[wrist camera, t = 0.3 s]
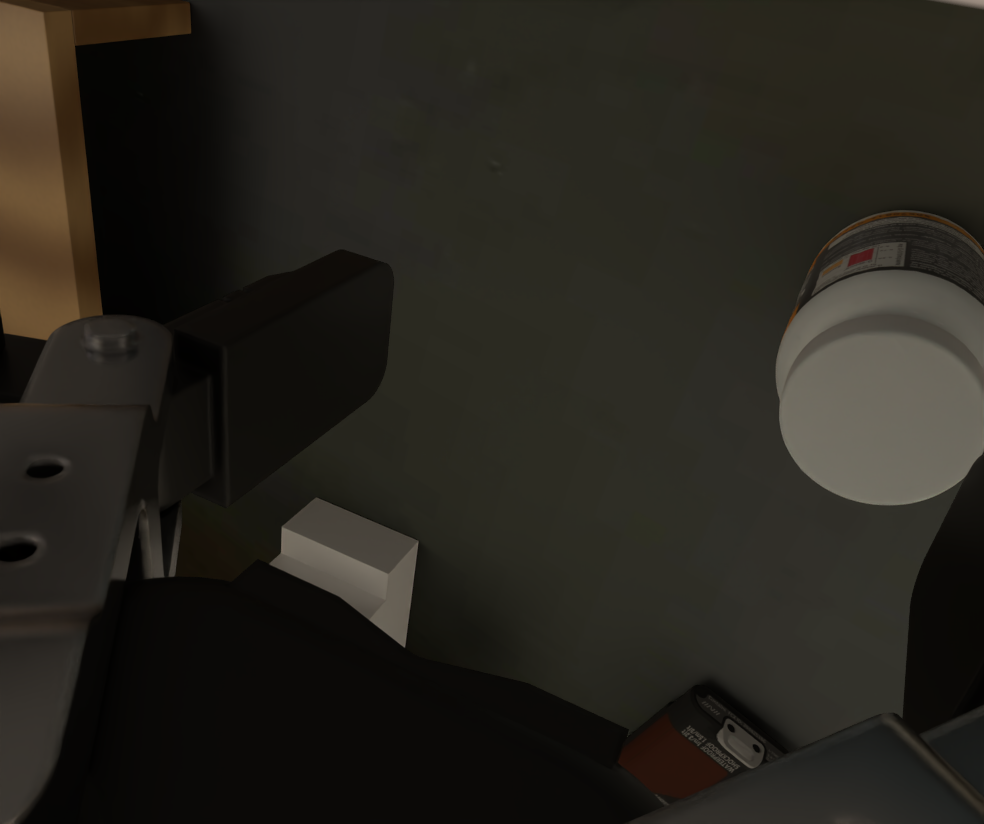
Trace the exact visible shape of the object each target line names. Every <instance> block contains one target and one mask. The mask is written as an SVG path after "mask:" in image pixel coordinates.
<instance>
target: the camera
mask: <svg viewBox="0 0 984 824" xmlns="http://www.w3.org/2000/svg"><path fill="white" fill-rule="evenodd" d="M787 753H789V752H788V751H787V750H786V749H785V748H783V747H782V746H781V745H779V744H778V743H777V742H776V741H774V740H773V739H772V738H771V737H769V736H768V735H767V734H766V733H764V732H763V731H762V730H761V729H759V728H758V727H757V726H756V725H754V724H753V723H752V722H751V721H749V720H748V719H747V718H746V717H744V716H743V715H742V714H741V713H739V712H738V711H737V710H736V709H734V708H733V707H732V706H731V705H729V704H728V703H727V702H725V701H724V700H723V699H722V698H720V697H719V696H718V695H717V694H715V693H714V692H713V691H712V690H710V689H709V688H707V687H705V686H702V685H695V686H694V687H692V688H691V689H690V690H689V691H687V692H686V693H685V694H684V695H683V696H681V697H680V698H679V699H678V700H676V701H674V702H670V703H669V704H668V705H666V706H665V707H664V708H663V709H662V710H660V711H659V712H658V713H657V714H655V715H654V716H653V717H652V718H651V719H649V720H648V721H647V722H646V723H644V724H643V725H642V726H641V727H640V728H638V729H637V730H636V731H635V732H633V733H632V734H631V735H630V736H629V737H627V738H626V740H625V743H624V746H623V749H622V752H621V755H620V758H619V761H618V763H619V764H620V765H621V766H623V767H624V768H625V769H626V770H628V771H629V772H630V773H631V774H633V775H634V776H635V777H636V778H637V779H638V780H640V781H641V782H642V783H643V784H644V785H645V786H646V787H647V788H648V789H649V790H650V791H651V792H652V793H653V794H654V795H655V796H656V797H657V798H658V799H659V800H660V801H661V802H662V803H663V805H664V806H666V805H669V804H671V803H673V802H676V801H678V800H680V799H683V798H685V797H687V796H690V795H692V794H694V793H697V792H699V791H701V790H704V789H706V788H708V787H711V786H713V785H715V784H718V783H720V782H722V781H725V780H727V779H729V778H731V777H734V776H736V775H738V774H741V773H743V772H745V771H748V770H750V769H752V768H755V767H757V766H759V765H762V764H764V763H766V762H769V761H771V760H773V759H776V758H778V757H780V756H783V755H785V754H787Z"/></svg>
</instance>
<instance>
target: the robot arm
mask: <svg viewBox="0 0 984 824" xmlns="http://www.w3.org/2000/svg"><path fill="white" fill-rule="evenodd" d="M393 288H394V276H393V272H392V269H391V267H390V266H389V265H388V264H387V263H384V262H381V261H377V260H374V259H371V258H368V257H365V256H362V255H359V254H356V253H352V252H349V251H346V250H337V251H335V252H333V253H331V254H328V255H326V256H324V257H322V258H320V259H318V260H316V261H314V262H312V263H310V264H308V265H305V266H303V267H301V268H299V269H297V270H295V271H291V272H286V273H281V274H275V275H270V276H267V277H265V278H262V279H260V280H258V281H256V282H254V283H252V284H250V285H248V286H245V287H243V291H241V290H237V291H235V292H233V293H230V294H228V295H226V296H224V297H223V300H219V299H218V300H215V301H213V302H211V303H209V304H207V305H205V306H203V307H200V308H198V309H196V310H194V311H192V312H190V313H188V314H185V315H183V316H181V317H179V318H177V319H175V320H173V321H170V322H168V323H166V324H164V325H162V324H160V323H158V322H156V321H153V320H150V319H147V318H143V317H138V316H131V315H98V316H91V317H86V318H81V319H78V320H74V321H71V322H69V323H67V324H64V325H62V326H61V327H59V328H57V329H56V330H55V331H54V332H52V333H51V335H50V336H49V338H48V340H43V339H37V338H31V337H24V336H18V335H12V334H6V333H4V330H3V324H2V318H1V312H0V824H984V456H983V455H981V456H980V457H978V458H977V459H976V461H975V462H974V463H973V465H972V466H971V468H970V470H969V472H968V474H967V475H966V477H965V479H964V481H963V483H962V485H961V487H960V489H959V491H958V493H957V495H956V497H955V499H954V501H953V503H952V505H951V507H950V509H949V511H948V513H947V515H946V517H945V519H944V521H943V523H942V525H941V527H940V529H939V531H938V533H937V535H936V537H935V539H934V541H933V543H932V545H931V546H930V548H929V550H928V552H927V554H926V557H925V559H924V561H923V563H922V565H921V568H920V571H919V573H918V576H917V579H916V582H915V585H914V589H913V593H912V597H911V603H910V615H909V630H908V645H907V660H906V675H905V690H904V705H903V719H902V718H901V717H900V716H899V715H898V714H895V713H883V714H879V715H876V716H873V717H871V718H868V719H866V720H864V721H861V722H859V723H857V724H854V725H852V726H850V727H847V728H845V729H843V730H841V731H838V732H836V733H834V734H831V735H829V736H827V737H824V738H822V739H820V740H817V741H815V742H813V743H810V744H808V745H806V746H803V747H801V748H799V749H796V750H794V751H792V752H789V753H787V754H785V755H783V756H780V757H778V758H776V759H773V760H771V761H769V762H766V763H764V764H762V765H759V766H757V767H755V768H752V769H750V770H748V771H745V772H743V773H741V774H738V775H736V776H734V777H731V778H729V779H727V780H725V781H722V782H720V783H718V784H715V785H713V786H711V787H708V788H706V789H704V790H701V791H699V792H697V793H694V794H692V795H690V796H687V797H685V798H683V799H680V800H678V801H676V802H673V803H671V804H669V805H666V806H664V805H663V803H662V802H661V801H660V800H659V799H658V798H657V797H656V796H655V795H654V794H653V793H652V792H651V791H650V790H649V789H648V788H647V787H646V786H645V785H644V784H643V783H642V782H641V781H640V780H638V779H637V778H636V777H635V776H634V775H633V774H631V773H630V772H629V771H628V770H626V769H625V768H624V767H623V766H621V765H620V764H619V763H618V761H619V758H620V755H621V752H622V749H623V746H624V743H625V740H626V737H627V734H628V730H629V729H626V728H624V727H622V726H620V725H618V724H615V723H613V722H611V721H609V720H607V719H605V718H602V717H600V716H598V715H596V714H594V713H592V712H589V711H587V710H585V709H583V708H581V707H578V706H576V705H574V704H572V703H570V702H568V701H565V700H563V699H561V698H559V697H557V696H555V695H552V694H550V693H548V692H546V691H544V690H542V689H539V688H537V687H535V686H533V685H531V684H528V683H525V682H521V681H517V680H513V679H508V678H504V677H500V676H496V675H491V674H487V673H483V672H479V671H475V670H470V669H466V668H462V667H458V666H453V665H449V664H445V663H441V662H437V661H432V660H428V659H425V658H421V657H419V656H417V655H415V654H413V653H411V652H410V651H408V650H407V649H406V648H404V647H403V646H402V645H400V644H399V643H398V642H397V641H395V640H394V639H393V638H392V637H390V636H389V635H388V634H386V633H385V632H384V631H383V630H381V629H380V628H379V627H378V626H376V625H375V624H374V623H372V622H371V621H370V620H369V619H367V618H366V617H365V616H363V615H362V614H361V613H360V612H358V611H357V610H356V609H355V608H353V607H352V606H351V605H349V604H348V603H347V602H346V601H344V600H343V599H342V598H341V597H339V596H337V595H335V594H333V593H330V592H328V591H326V590H324V589H322V588H320V587H317V586H315V585H313V584H311V583H309V582H307V581H304V580H302V579H300V578H298V577H296V576H294V575H291V574H289V573H287V572H285V571H283V570H280V569H278V568H276V567H274V566H272V565H270V564H267V563H265V562H263V561H261V560H259V559H257V560H256V561H255V562H254V563H253V564H252V565H250V566H249V567H248V568H247V569H246V570H245V571H243V572H242V573H241V574H240V575H239V576H238V577H237V578H235V579H234V580H233V581H232V582H229V581H225V580H218V579H210V578H202V577H175V570H176V563H177V555H178V547H179V539H180V532H181V524H182V507H181V499H182V498H183V497H185V496H186V495H188V494H189V493H193V494H195V495H197V496H200V497H202V498H204V499H206V500H209V501H211V502H213V503H215V504H218V505H220V506H222V507H224V508H227V507H229V506H230V505H231V504H233V503H234V502H235V501H236V500H238V499H239V498H240V497H242V496H243V495H244V494H246V493H247V492H248V491H250V490H251V489H252V488H254V487H255V486H256V485H258V484H259V483H260V482H262V481H263V480H264V479H265V478H267V477H268V476H269V475H271V474H272V473H273V472H275V471H276V470H277V469H279V468H280V467H281V466H283V465H284V464H285V463H287V462H288V461H289V460H290V459H292V458H293V457H294V456H296V455H297V454H298V453H300V452H301V451H302V450H304V449H305V448H306V447H308V446H309V445H310V444H312V443H313V442H314V441H315V440H317V439H318V438H319V437H321V436H322V435H323V434H325V433H326V432H327V431H329V430H330V429H331V428H333V427H334V426H335V425H337V424H338V423H339V422H340V421H342V420H343V419H344V418H346V417H347V416H348V415H350V414H351V413H352V412H354V411H355V410H356V409H358V408H359V407H360V406H362V405H363V404H364V403H366V402H367V401H368V400H369V399H370V398H371V397H372V396H373V395H374V394H375V392H376V391H377V389H378V387H379V385H380V383H381V381H382V379H383V376H384V373H385V370H386V365H387V357H388V346H389V334H390V323H391V311H392V300H393Z"/></svg>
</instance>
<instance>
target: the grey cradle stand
mask: <svg viewBox="0 0 984 824" xmlns="http://www.w3.org/2000/svg"><path fill="white" fill-rule="evenodd" d="M418 543H419V541H418V540H415V539H413V538H411V537H408V536H406V535H404V534H401V533H399V532H397V531H394V530H392V529H389V528H387V527H385V526H382V525H380V524H378V523H375V522H373V521H371V520H368V519H366V518H364V517H361V516H359V515H357V514H354V513H352V512H350V511H347V510H345V509H343V508H340V507H338V506H335V505H333V504H331V503H328V502H326V501H324V500H321V499H319V498H317V497H316V498H315V499H314V500H313V501H311V502H310V503H309V504H308V505H307V506H306V507H304V508H303V509H302V510H301V511H300V512H299V513H297V514H296V515H295V516H294V517H293V518H292V519H290V520H289V521H288V522H287V523H286V524H285V525H283V526H282V541H281V554H280V555H278V556H277V557H276V558H275V559H274V560H273V561H272V562H271V563H270V565H272V566H274V567H276V568H278V569H280V570H283V571H285V572H287V573H289V574H291V575H294V576H296V577H298V578H300V579H302V580H304V581H307V582H309V583H311V584H313V585H315V586H317V587H320V588H322V589H324V590H326V591H328V592H330V593H333V594H335V595H337V596H339V597H341V598H342V599H343V600H344V601H346V602H347V603H348V604H349V605H351V606H352V607H353V608H355V609H356V610H357V611H358V612H360V613H361V614H362V615H363V616H365V617H366V618H367V619H369V620H370V621H371V622H372V623H374V624H375V625H376V626H378V627H379V628H380V629H381V630H383V631H384V632H385V633H386V634H388V635H389V636H390V637H392V638H393V639H394V640H395V641H397V642H398V643H399V644H400V645H402V646H403V647H404V648H405V644H406V637H407V629H408V621H409V613H410V605H411V597H412V590H413V582H414V574H415V566H416V558H417V550H418Z"/></svg>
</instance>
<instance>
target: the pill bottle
mask: <svg viewBox="0 0 984 824" xmlns="http://www.w3.org/2000/svg"><path fill="white" fill-rule="evenodd" d="M776 386H777V392H778V395H779V399H780V408H779V421H780V427H781V433H782V437H783V440H784V443H785V445H786V447H787V449H788V451H789V453H790V455H791V456H792V458H793V459H794V461H795V462H796V463H797V464H798V466H799V467H800V468H801V469H802V471H804V472H805V473H806V474H807V475H808V476H809V477H810V478H811V479H812V480H814V481H815V482H816V483H818V484H819V485H821V486H822V487H824V488H825V489H827V490H829V491H831V492H833V493H835V494H837V495H839V496H842V497H844V498H847V499H850V500H854V501H857V502H862V503H867V504H874V505H902V504H910V503H914V502H918V501H922V500H926V499H928V498H931V497H934V496H936V495H938V494H940V493H942V492H944V491H946V490H948V489H949V488H951V487H953V486H954V485H955V484H957V483H958V482H959V481H961V480H962V479H963V478H964V477H965V476H966V475H967V474H968V472H969V470H970V468H971V466H972V465H973V463H974V462H975V461H976V459H977V458H978V457H980V456H981V455H982V454H983V452H984V250H983V249H982V247H981V246H980V244H979V243H978V242H977V241H976V240H975V239H974V238H973V237H972V236H971V235H970V234H969V233H968V232H967V231H966V230H965V229H963V228H962V227H960V226H959V225H957V224H955V223H954V222H952V221H950V220H948V219H946V218H943V217H940V216H938V215H935V214H931V213H926V212H921V211H912V210H895V211H888V212H882V213H878V214H874V215H871V216H868V217H865V218H863V219H861V220H858V221H856V222H854V223H853V224H851V225H849V226H847V227H846V228H844V229H843V230H842V231H840V232H839V233H838V234H836V235H835V236H834V237H833V238H832V239H831V240H830V241H829V242H828V243H827V244H826V245H825V246H824V247H823V248H822V250H821V251H820V253H819V254H818V256H817V257H816V258H815V260H814V262H813V264H812V266H811V268H810V270H809V272H808V275H807V277H806V279H805V281H804V284H803V286H802V288H801V291H800V293H799V295H798V299H797V302H796V305H795V307H794V310H793V313H792V315H791V318H790V320H789V323H788V325H787V328H786V330H785V333H784V335H783V338H782V340H781V344H780V347H779V350H778V355H777V360H776Z"/></svg>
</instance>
